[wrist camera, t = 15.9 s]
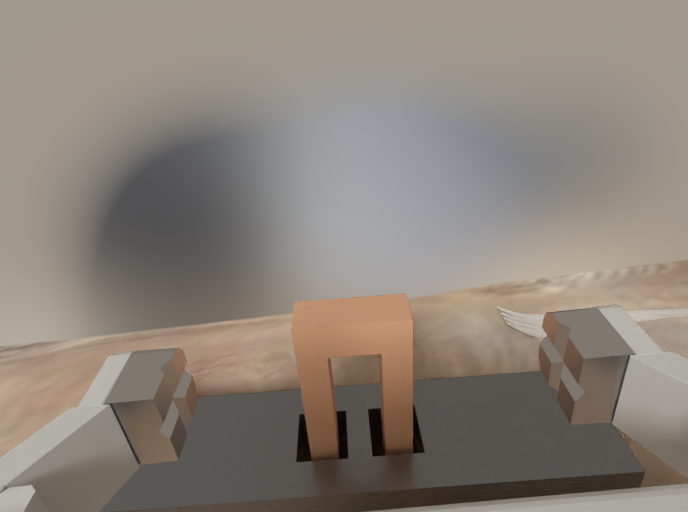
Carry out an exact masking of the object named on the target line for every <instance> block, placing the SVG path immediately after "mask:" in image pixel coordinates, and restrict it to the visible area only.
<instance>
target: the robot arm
mask: <svg viewBox="0 0 688 512" xmlns="http://www.w3.org/2000/svg"><path fill="white" fill-rule="evenodd" d="M542 328H543V330H544V331H545V333H546V335H547V336H546V337H545V338H544V339H543V340H542V341H541V343H540V347H539V361H540V367H541V370H542V373H543V376H544V378H545V380H546V382H547V384H548V385H549V386H551V387H552V388H554V389H556V390H557V391H558V397H557V402H558V403H559V405H560V407H561V409H562V410H563V412H564V414H565V416H566V417H567V419H568V421H569V423H570V424H571V425H575V424H591V423H607V422H612V424H613V425H614V426H615V427H617V428H618V429H619V430H621V431H622V432H623V433H625V434H626V435H628V436H629V437H630V438H632V439H633V440H634V441H636V442H637V443H638V444H640V445H641V446H642V447H644V448H645V449H647V450H648V451H649V452H651V453H652V454H653V455H655V456H656V457H657V458H659V459H660V460H661V461H663V462H664V463H666V464H667V465H668V466H670V467H671V468H672V469H674V470H675V471H676V472H678V473H679V474H680V475H682V476H683V477H685V478H686V479H687V480H688V359H687V358H685V357H683V356H680V355H678V354H676V353H674V352H663V350H662V349H661V348H660V347H659V346H658V345H657V344H656V343H655V342H654V341H653V340H652V339H651V338H650V337H649V336H648V335H647V334H646V332H645V331H644V330H643V329H642V328H641V327H640V326H639V325H638V324H637V323H636V322H635V321H634V320H633V319H632V318H631V317H630V315H629V314H628V313H627V312H626V311H625V310H624V309H623V308H622V307H620V306H618V305H616V304H615V305H607V306H599V307H592V308H587V309H577V310H567V311H557V312H547V313H546V314H545V316H544V318H543V324H542ZM186 363H187V360H186V357H185V355H184V352H183V350H182V349H180V348H169V349H155V350H142V351H135V352H133V351H132V352H120V353H113V354H112V355H110V356H108V358H107V359H106V361H105V363H104V364H103V366H102V368H101V369H100V371H99V373H98V374H97V376H96V377H95V379H94V381H93V382H92V384H91V386H90V387H89V389H88V391H87V392H86V394H85V395H84V397H83V399H82V400H81V402H80V404H79V405H78V407H75V408H70V409H68V410H67V411H65V412H64V413H63V414H61V415H60V416H58V417H57V418H55V419H54V420H53V421H51V422H50V423H48V424H47V425H46V426H44V427H43V428H41V429H40V430H38V431H37V432H36V433H34V434H33V435H31V436H30V437H29V438H27V439H26V440H24V441H23V442H22V443H20V444H19V445H17V446H16V447H14V448H13V449H12V450H10V451H9V452H7V453H6V454H5V455H3V456H2V457H0V512H99V511H100V510H101V509H102V508H103V507H104V506H105V505H106V504H107V503H108V501H109V500H110V499H111V498H112V497H113V496H114V495H115V494H116V493H117V492H118V490H119V489H120V488H121V487H122V486H123V485H124V484H125V483H126V482H127V481H128V479H129V478H130V477H131V476H132V475H133V474H134V473H135V472H136V471H137V470H138V468H139V465H144V464H152V463H161V462H169V461H178V460H179V458H180V455H181V452H182V449H183V446H184V443H185V440H186V437H187V433H186V430H185V427H184V425H185V424H186V423H188V422H189V421H190V420H191V419H192V418H193V414H194V411H195V407H196V388H195V383H194V380H193V377H192V376H191V375H190V374H189V373H187V372H186V371H185V370H184V369H185V366H186ZM366 512H688V483H687V484H675V485H664V486H652V487H641V488H630V489H618V490H607V491H595V492H584V493H572V494H561V495H549V496H538V497H526V498H515V499H503V500H492V501H480V502H469V503H458V504H446V505H435V506H423V507H412V508H400V509H389V510H377V511H366Z"/></svg>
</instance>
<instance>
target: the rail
mask: <svg viewBox="0 0 688 512" xmlns="http://www.w3.org/2000/svg"><path fill="white" fill-rule="evenodd" d="M334 396H335V405H336V414H337V423H338V432H339V442H340V444H342V443H348V459H334V460H321V461H308V462H304V448H305V446H309V439H308V433H307V426H306V420H305V413H304V407H303V400H302V394H301V389H300V390H287V391H274V392H261V393H248V394H234V395H221V396H208V397H196V407H195V411H194V414H193V418H192V419H191V420H190V421H189V422H188V423H186V424H185V425H184V427H185V430H186V433H187V437H186V440H185V443H184V446H183V449H182V452H181V455H180V458H179V460H178V461H169V462H161V463H152V464H144V465H139V468H138V470H137V471H136V472H135V473H134V474H133V475H132V476H131V477H130V478H129V479H128V481H127V482H126V483H125V484H124V485H123V486H122V487H121V488H120V489H119V490H118V492H117V493H116V494H115V495H114V496H113V497H112V498H111V499H110V500H109V501H108V503H107V504H106V505H105V506H104V507H103V508H102V509H101V510H100V511H99V512H366V511H377V510H389V509H400V508H412V507H423V506H435V505H446V504H458V503H469V502H480V501H492V500H503V499H515V498H526V497H538V496H549V495H561V494H572V493H584V492H595V491H607V490H618V489H630V488H640V485H641V482H642V479H643V476H644V473H645V471H644V469H643V468H642V466H641V465H640V463H639V462H638V460H637V459H636V457H635V456H634V454H633V453H632V451H631V450H630V449H629V447H628V446H627V444H626V443H625V441H624V440H623V438H622V437H621V435H620V434H619V432H618V431H617V429H616V428H615V427H614V425H613V424H612V422H607V423H591V424H575V425H571V424H570V423H569V421H568V419H567V417H566V416H565V414H564V412H563V410H562V409H561V407H560V405H559V403H558V402H557V397H558V391H557V390H556V389H554V388H552V387H551V386H549V385H548V384H547V382H546V380H545V378H544V376H543V373H542V371H536V372H523V373H510V374H497V375H484V376H471V377H458V378H445V379H431V380H418V381H413V438H415V443H416V448H417V453H414V454H401V455H387V456H374V457H373V455H372V445H371V441H382V418H381V396H380V383H379V384H366V385H353V386H339V387H334Z"/></svg>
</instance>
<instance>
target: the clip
mask: <svg viewBox="0 0 688 512" xmlns="http://www.w3.org/2000/svg"><path fill="white" fill-rule="evenodd" d="M292 335H293V342H294V348H295V355H296V361H297V368H298V374H299V381H300V387H301V394H302V400H303V407H304V413H305V420H306V426H307V433H308V439H309V446H310V452H311V459H312V461H321V460H334V459H341V451H340V442H339V432H338V423H337V414H336V405H335V396H334V387H333V377H332V368H331V359H330V358H337V357H350V356H362V355H375V354H379V374H380V396H381V418H382V440H383V453H384V456H387V455H401V454H413V319H412V315H411V311H410V308H409V304H408V300H407V297H406V294H392V295H379V296H366V297H353V298H341V299H328V300H315V301H303V302H294V311H293V320H292Z"/></svg>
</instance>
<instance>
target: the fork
mask: <svg viewBox="0 0 688 512" xmlns="http://www.w3.org/2000/svg"><path fill="white" fill-rule="evenodd" d="M497 308H498V309H500V310H501V311H503V312H505V313H507V314H505V313H503V312H500V313H501V314H502V315H504V316H506V317H508V318H510V319H508V318H506V317H503V318H504V319H505V320H507V321H509V322H511V323H513V324H511V323H509V322H507V321H506V323H507V324H508V325H510V326H512V327H513V328H515V329H517V330H519V331H521V332H523V333H525V334H528V335H531V336H534V337H546V336H547V335H546V333H545V331H540V330H543V328H542V326H537V325H542V324H543V318H544V316H545V314H543V315H534V314H523V313H517V312H513V311H509V310H506V309H503V308H500V307H497ZM626 312H627V313H628V314H629V315H630V317H631V318H632V319H633V320H634V321H640V320H650V319H659V318H669V317H679V316H688V308H686V309H659V310H633V311H626ZM508 314H509V315H508ZM510 315H512V316H510ZM513 316H514V317H513ZM511 319H512V320H511ZM533 320H541V321H533ZM514 324H515V325H514Z"/></svg>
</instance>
